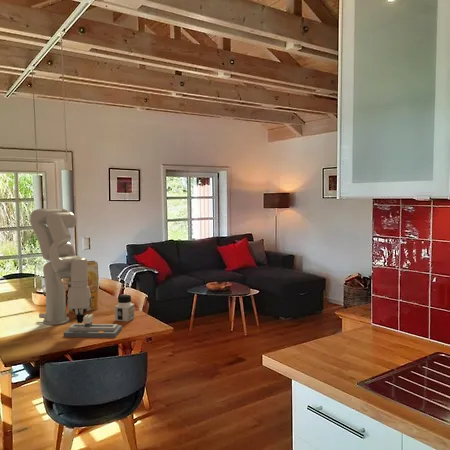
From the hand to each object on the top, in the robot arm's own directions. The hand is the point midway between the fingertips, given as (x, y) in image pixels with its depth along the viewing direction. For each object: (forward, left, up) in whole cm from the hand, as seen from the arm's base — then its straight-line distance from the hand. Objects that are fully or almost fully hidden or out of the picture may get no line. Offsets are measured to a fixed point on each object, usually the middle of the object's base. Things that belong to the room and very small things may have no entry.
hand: (80, 322), depth 200 cm
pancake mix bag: (-13, +39, -6) cm, 42 cm away
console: (+6, 0, -5) cm, 8 cm away
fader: (+4, 0, -3) cm, 5 cm away
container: (+15, +23, -6) cm, 28 cm away
